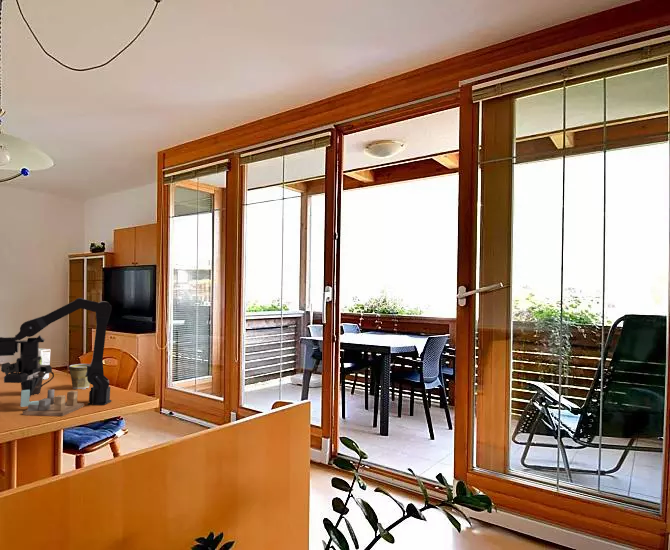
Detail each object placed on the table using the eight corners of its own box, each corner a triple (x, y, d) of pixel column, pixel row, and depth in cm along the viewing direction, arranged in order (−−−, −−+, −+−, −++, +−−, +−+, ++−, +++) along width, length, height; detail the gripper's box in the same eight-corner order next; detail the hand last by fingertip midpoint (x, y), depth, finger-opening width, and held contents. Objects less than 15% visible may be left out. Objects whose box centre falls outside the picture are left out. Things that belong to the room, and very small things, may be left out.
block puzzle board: (83, 406, 178) (84, 389, 178) (62, 416, 164) (63, 397, 164) (47, 405, 178) (48, 387, 178) (22, 414, 164) (23, 395, 165)
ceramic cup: (93, 389, 208) (94, 366, 208) (67, 391, 203) (69, 367, 204) (93, 384, 219) (94, 362, 220) (68, 385, 215) (69, 363, 215)
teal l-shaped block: (42, 403, 175) (43, 388, 175) (43, 404, 173) (44, 389, 173) (20, 405, 171) (21, 390, 171) (20, 406, 169) (21, 391, 169)
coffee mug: (15, 396, 191) (16, 371, 191) (23, 391, 199) (24, 368, 199) (47, 395, 194) (48, 371, 194) (53, 391, 202) (55, 367, 202)
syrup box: (29, 379, 224) (31, 349, 225) (40, 377, 230) (42, 347, 230) (38, 380, 223) (40, 349, 223) (49, 378, 228) (51, 348, 229)
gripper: (24, 349, 183) (23, 389, 183) (-12, 358, 165) (-12, 403, 165) (53, 350, 183) (52, 390, 183) (20, 359, 165) (19, 404, 165)
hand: (28, 396), depth 174 cm, fingers closed
